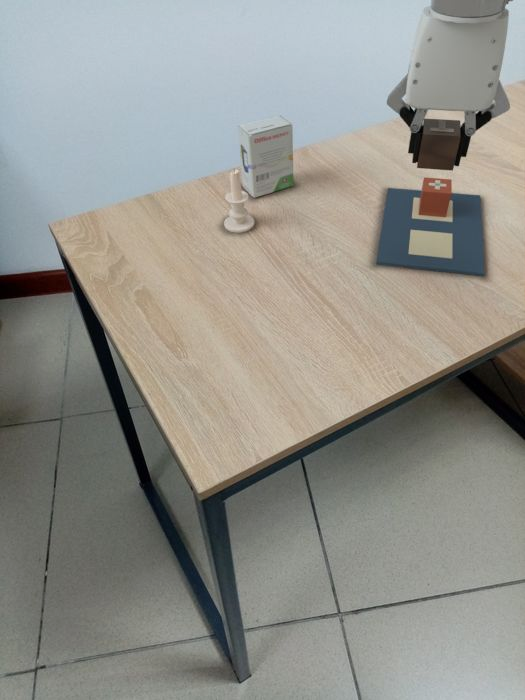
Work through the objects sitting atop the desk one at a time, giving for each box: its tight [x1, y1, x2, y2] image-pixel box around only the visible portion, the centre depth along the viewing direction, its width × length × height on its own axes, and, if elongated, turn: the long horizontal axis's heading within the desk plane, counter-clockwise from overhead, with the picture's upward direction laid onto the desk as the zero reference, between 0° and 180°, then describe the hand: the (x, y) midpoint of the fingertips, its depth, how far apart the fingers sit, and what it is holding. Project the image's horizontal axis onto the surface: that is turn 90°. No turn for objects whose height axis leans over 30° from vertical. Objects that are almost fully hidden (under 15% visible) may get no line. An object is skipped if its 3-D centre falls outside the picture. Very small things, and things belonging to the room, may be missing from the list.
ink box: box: [237, 115, 294, 199], centre depth 95 cm, size 9×5×12 cm, turn 116°
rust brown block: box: [418, 177, 453, 217], centre depth 89 cm, size 4×4×5 cm
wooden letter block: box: [416, 118, 462, 171], centre depth 68 cm, size 4×4×5 cm
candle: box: [223, 168, 255, 234], centre depth 88 cm, size 5×5×10 cm
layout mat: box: [375, 187, 486, 277], centre depth 88 cm, size 16×22×1 cm
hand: (435, 158), depth 69 cm, fingers closed on wooden letter block, 4 cm apart
